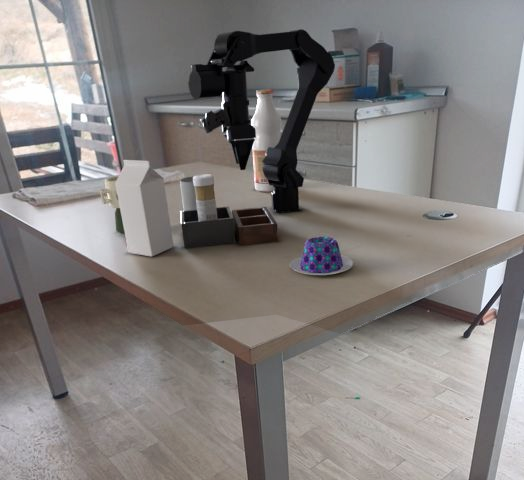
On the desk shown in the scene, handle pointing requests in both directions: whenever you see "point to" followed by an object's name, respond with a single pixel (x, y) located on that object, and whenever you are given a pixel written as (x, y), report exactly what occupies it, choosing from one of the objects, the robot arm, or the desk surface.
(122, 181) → the milk carton
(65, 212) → the desk surface
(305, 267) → the purple bucket hat
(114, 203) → the character mug
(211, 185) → the sprinkles bottle
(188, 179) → the cup
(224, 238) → the dark grey open box
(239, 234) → the rack
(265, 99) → the fruit juice
